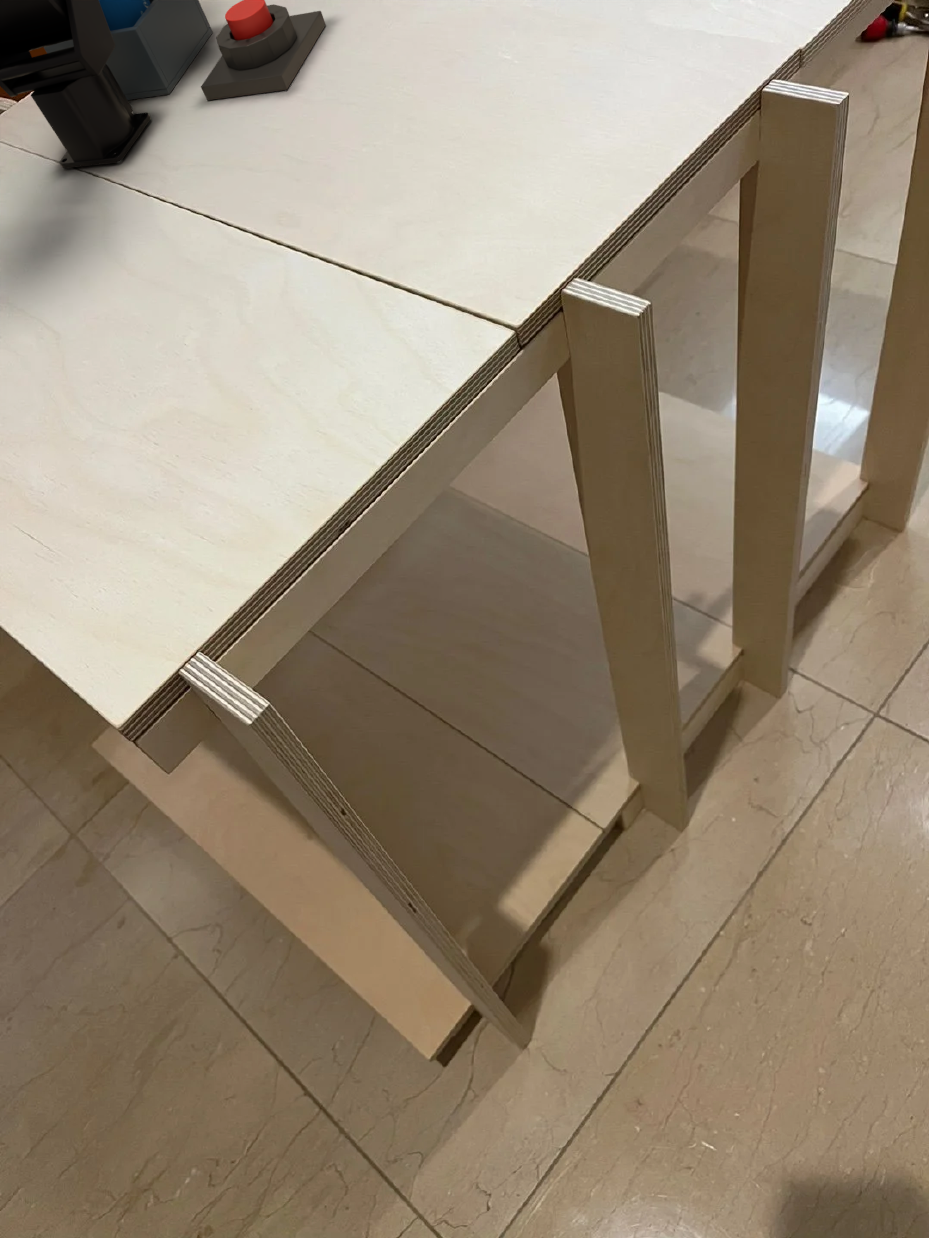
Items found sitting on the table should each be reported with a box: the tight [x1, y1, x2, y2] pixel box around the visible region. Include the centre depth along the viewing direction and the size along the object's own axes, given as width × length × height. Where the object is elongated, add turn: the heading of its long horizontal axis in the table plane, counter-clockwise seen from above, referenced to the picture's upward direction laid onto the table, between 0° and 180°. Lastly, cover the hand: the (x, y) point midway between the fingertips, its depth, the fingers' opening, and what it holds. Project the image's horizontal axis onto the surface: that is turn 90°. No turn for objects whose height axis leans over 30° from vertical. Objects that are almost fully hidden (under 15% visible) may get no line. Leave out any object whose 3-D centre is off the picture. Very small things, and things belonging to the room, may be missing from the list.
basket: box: [43, 0, 214, 101], centre depth 82 cm, size 10×10×6 cm
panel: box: [200, 4, 326, 101], centre depth 78 cm, size 10×8×3 cm
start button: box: [224, 0, 273, 41], centre depth 76 cm, size 4×4×2 cm
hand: (114, 10), depth 80 cm, fingers closed on beverage can, 6 cm apart
